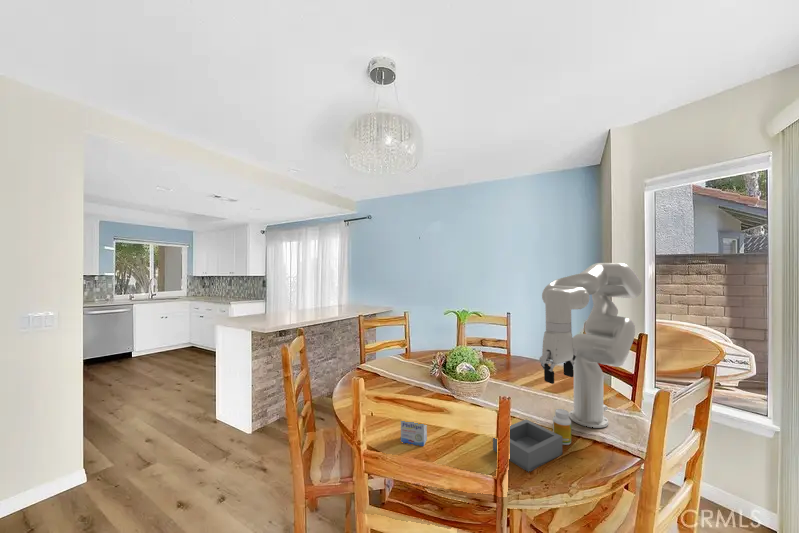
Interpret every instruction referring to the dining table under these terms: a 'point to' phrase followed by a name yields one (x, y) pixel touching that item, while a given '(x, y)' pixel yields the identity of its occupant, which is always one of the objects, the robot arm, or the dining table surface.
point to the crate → (532, 445)
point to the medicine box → (413, 433)
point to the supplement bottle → (562, 425)
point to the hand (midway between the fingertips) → (559, 379)
